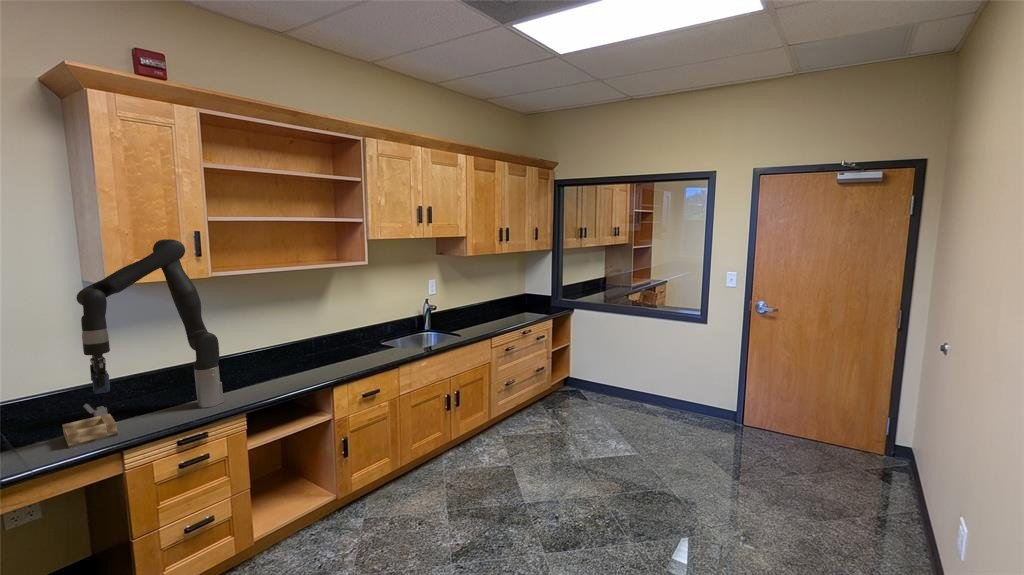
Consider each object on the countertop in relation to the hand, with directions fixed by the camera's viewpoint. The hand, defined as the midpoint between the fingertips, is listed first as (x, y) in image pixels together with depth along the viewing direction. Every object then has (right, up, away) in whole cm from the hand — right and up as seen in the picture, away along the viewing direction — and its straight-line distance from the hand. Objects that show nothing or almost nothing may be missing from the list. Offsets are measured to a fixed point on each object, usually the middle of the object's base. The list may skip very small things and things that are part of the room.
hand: (100, 385), depth 182 cm
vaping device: (0, -3, 0) cm, 3 cm away
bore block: (-5, -20, +1) cm, 21 cm away
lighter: (-16, -18, +16) cm, 29 cm away
